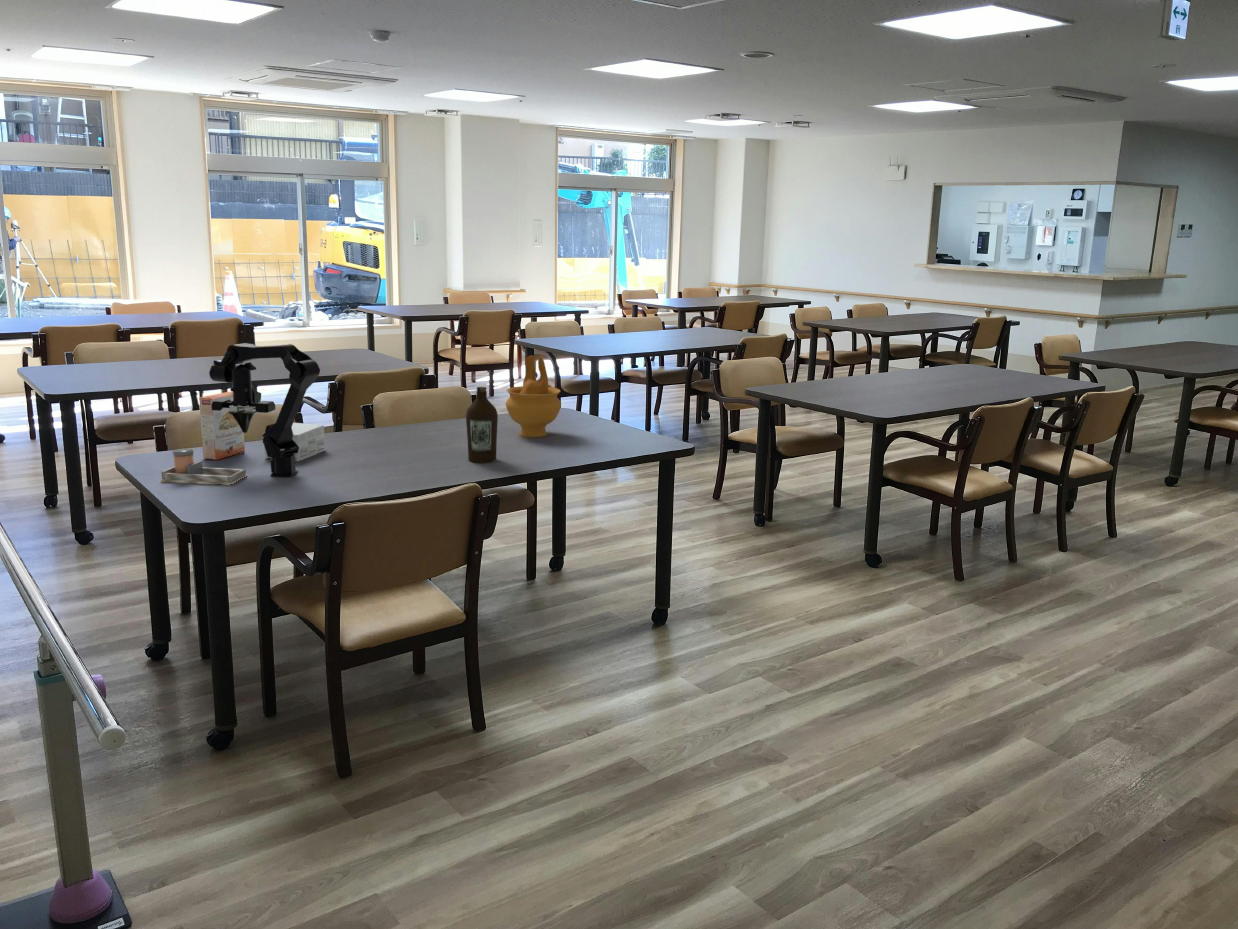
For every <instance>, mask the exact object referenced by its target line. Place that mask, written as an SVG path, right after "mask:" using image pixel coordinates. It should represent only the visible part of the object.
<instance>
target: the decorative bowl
mask: <svg viewBox="0 0 1238 929" xmlns="http://www.w3.org/2000/svg"><path fill="white" fill-rule="evenodd" d="M537 363H538V364H537V365H538V371H539V374H540V375H539V376H540V377H539V379H537V377H536V373H537V372H536V365H535V364H536V360H535V356H534V355H529V356H527V357H526V358H525V363H524V364H525V368H526V369H525V370H526V373H525V377H524V379H523V381H522V386H521V385H520V386H513V387H508V388H507V389H506V392H507V393H508V394H509V395H510V396H509V397H508V398H507V399H506V402H505V407H506V410H507V413H508V415H509V417H510V419H512V421H513V422H515V423H516V424H518V425H519V426H520V427H521V430H520V432H519V435H520V434H521V436H522V437H528V438H540V437H541V438H542V437H545V436H548V433H547V431H546V427H547V426H548V425H549V424H551V423H552V422H554V421H555V420H556V419H557V417H558V415H559V413H560V411H561V407H562V402H561V400H560V398H558V395H559V394H560V393H561V390H560V389H559V388H556V387H552V386H549V378H548V374H547V369H546V364H545V361H544V359H543V357H542V356H541V355H540V356H539V357H538V359H537Z"/></svg>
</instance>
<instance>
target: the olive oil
mask: <svg viewBox="0 0 1238 929" xmlns="http://www.w3.org/2000/svg"><path fill="white" fill-rule="evenodd" d="M487 392H488V391H487V387H486V386H477V387H476V399H474V401H473V402H472V403H471V404H470V405H469V406H468V408H467V409H466V414H465V420H466V421H465V422H466V435H467V437H466V438H467V439H466V440H467V457H468V461H469V462H472V463H477V464H480V463H481V464H487V463H493V462H495V461H496V460H497V446H498V445H497V442H498V440H497V439H498V438H497V436H498V423H499V422H498V419H499V416H498V411H497V409H496V406H494V404H492V402H490V400H488V398H487V397H488V393H487Z"/></svg>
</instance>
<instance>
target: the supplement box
mask: <svg viewBox="0 0 1238 929" xmlns="http://www.w3.org/2000/svg"><path fill="white" fill-rule="evenodd" d="M292 431H293V438H292V439H293V440H294V442H295V443H296V444H297V445H298V446H299V451H298V453H295V462H300V460H301V461H303V460H305V458H306V459H308V458H310V457H312V456H316V455H317V453H318V454H320V453H321V452H325V451H326V441H325V440H326V439H325V426H324V424H317V423H316V424H314V423H301V422H293V425H292ZM264 433H265V431H263V434H264ZM263 434H262V435H263ZM263 446H264V445H263ZM282 450H284V449H281V451H282ZM264 457H266V458H265V459H268V458H271V457H268V455H267V452H266V449H265V446H264Z"/></svg>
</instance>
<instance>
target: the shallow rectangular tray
mask: <svg viewBox="0 0 1238 929" xmlns="http://www.w3.org/2000/svg"><path fill="white" fill-rule="evenodd" d="M246 470H247V469H245V468H243V469H242V468H225V467H205V466H204V467H203V474H201V475H200V474H180V473H175V466H174V465H173V466H171V467H168V468H165V469H164V470H162V471H161V473H160V474H161V479H160V483H162V482H163V483H179V484H180V483H181V484H195V483H196V484H198V485H201V484H202V485H215V484H222V485H221V486H231V485H230V484H232V485H233V484H235V483H237V482H239V481H241V480H242V478H243V479H245V478H247V477H248V474H247V471H246ZM246 476H247V477H246ZM244 477H245V478H244ZM240 479H241V480H240ZM238 480H239V481H238ZM236 481H237V482H236Z"/></svg>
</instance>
